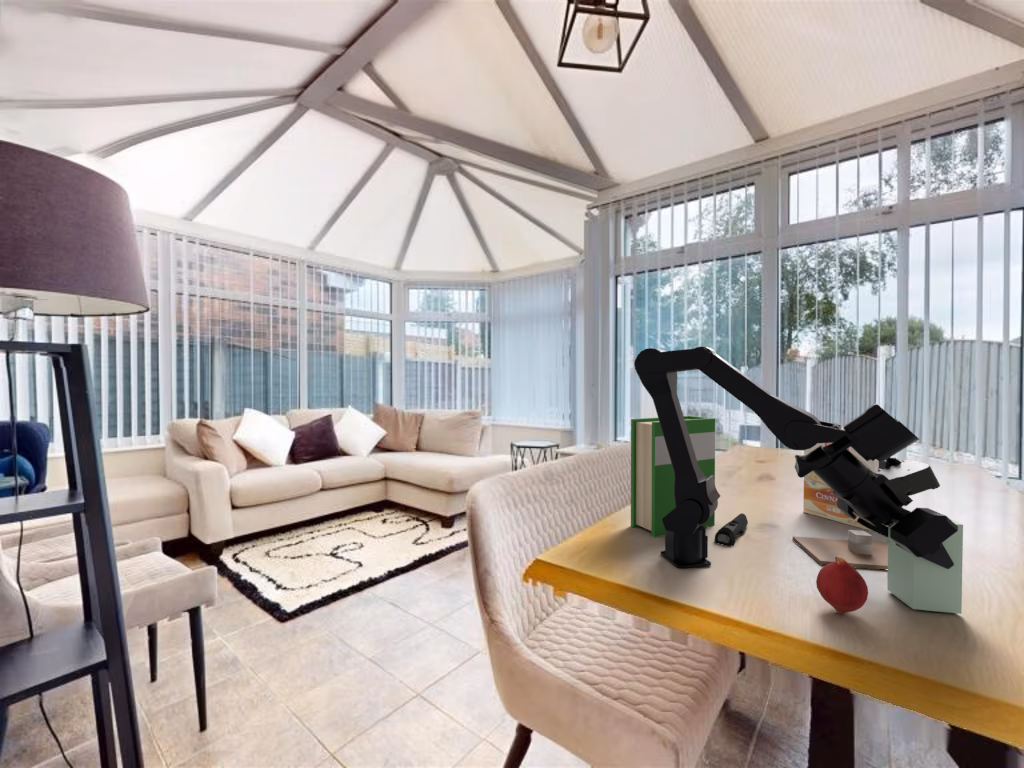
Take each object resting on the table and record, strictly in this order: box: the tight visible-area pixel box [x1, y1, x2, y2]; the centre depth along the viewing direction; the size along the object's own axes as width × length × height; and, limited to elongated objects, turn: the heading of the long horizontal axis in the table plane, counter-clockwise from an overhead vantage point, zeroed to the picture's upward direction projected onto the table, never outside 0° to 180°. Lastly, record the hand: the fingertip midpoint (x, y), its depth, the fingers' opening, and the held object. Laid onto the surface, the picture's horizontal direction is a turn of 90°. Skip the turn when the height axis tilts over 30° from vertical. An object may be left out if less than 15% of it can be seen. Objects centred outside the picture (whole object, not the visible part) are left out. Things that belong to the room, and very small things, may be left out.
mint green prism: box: [886, 510, 964, 614], centre depth 65 cm, size 6×6×12 cm
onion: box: [815, 556, 869, 614], centre depth 62 cm, size 6×6×8 cm
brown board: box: [792, 529, 888, 570], centre depth 82 cm, size 18×12×4 cm, turn 78°
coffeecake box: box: [802, 443, 879, 532], centre depth 102 cm, size 15×7×20 cm, turn 25°
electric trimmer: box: [714, 512, 749, 547], centre depth 93 cm, size 4×16×3 cm, turn 139°
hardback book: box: [630, 415, 716, 538], centre depth 98 cm, size 18×7×24 cm, turn 115°
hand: (934, 557), depth 64 cm, fingers closed on mint green prism, 6 cm apart
